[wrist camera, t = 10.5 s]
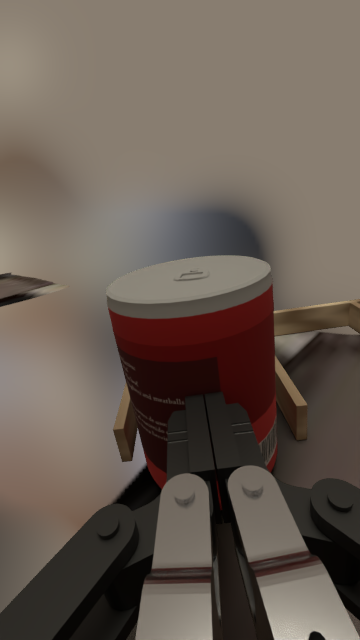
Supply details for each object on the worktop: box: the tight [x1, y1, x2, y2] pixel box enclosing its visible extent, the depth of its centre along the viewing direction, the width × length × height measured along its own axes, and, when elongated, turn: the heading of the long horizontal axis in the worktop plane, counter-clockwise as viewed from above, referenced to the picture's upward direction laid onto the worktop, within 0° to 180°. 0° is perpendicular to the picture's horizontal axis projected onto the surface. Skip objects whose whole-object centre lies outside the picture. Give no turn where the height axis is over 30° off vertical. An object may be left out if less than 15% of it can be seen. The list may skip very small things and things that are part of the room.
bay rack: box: [113, 299, 360, 462], centre depth 24 cm, size 32×15×2 cm, turn 91°
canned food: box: [106, 256, 277, 510], centre depth 16 cm, size 8×8×11 cm
